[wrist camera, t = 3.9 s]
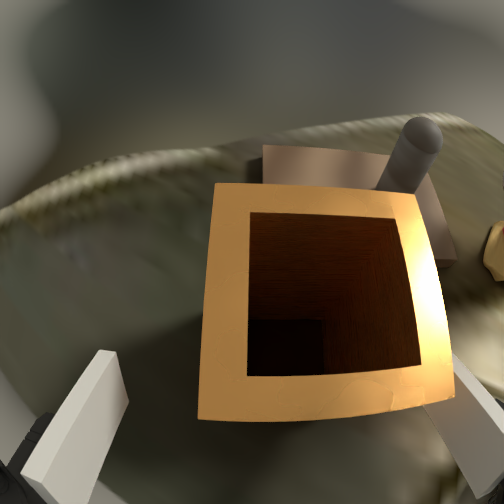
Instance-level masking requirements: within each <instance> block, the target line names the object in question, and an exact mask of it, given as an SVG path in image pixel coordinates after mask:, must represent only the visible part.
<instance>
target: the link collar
mask: <svg viewBox="0 0 504 504" xmlns="http://www.w3.org/2000/svg"><path fill="white" fill-rule="evenodd" d="M248 319H253V320H321V321H322V339H323V361H324V375H313V376H247V335H248ZM454 397H455V386H454V373H453V363H452V354H451V346H450V339H449V332H448V326H447V319H446V314H445V308H444V303H443V298H442V293H441V288H440V283H439V279H438V274H437V270H436V266H435V262H434V258H433V254H432V250H431V246H430V243H429V239H428V236H427V232H426V229H425V225H424V222H423V219H422V216H421V213H420V209H419V206H418V203H417V200H416V197H415V195H414V194H406V193H396V192H386V191H375V190H364V189H351V188H337V187H322V186H304V185H281V184H247V183H215V191H214V200H213V209H212V218H211V228H210V238H209V249H208V260H207V272H206V284H205V296H204V310H203V324H202V340H201V357H200V376H199V399H198V419H202V420H217V421H242V422H282V421H307V420H322V419H334V418H344V417H353V416H361V415H369V414H376V413H383V412H389V411H395V410H400V409H406V408H411V407H416V406H421V405H425V404H430V403H434V402H438V401H443V400H447V399H451V398H454Z"/></svg>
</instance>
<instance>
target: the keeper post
mask: <svg viewBox="0 0 504 504" xmlns="http://www.w3.org/2000/svg"><path fill="white" fill-rule="evenodd" d="M442 144H443V137H442V133H441V130H440V129H439V127H438V126H437V124H436V123H435V122H433V121H432V120H430V119H428V118H425V117H415V118H412V119H410V120H409V121H408V122H407V123H406V124H405V125H404V127H403V130H402V132H401V134H400V136H399V139H398V141H397V143H396V145H395V147H394V150H393V152H392V154H391V156H388V155H381V154H373V153H365V152H356V151H347V150H337V149H325V148H312V147H297V146H278V145H263V150H262V184H281V185H304V186H322V187H337V188H351V189H364V190H375V191H386V192H396V193H406V194H414V195H415V197H416V200H417V203H418V206H419V209H420V213H421V216H422V219H423V222H424V225H425V229H426V232H427V236H428V239H429V243H430V246H431V250H432V254H433V258H434V262H435V266H436V268H449V267H450V266H451V265H452V264H453V263H454V262H456V261H457V260H458V258H457V255H456V251H455V248H454V244H453V241H452V238H451V235H450V231H449V228H448V225H447V222H446V219H445V216H444V214H443V211H442V208H441V205H440V202H439V200H438V197H437V194H436V192H435V189H434V187H433V184H432V182H431V179H430V177H429V175H428V170H429V169H430V167H431V165H432V164H433V162H434V160H435V159H436V157H437V155H438V153H439V152H440V150H441V148H442Z"/></svg>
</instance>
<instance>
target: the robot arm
mask: <svg viewBox="0 0 504 504" xmlns="http://www.w3.org/2000/svg"><path fill="white" fill-rule="evenodd" d="M451 354H452V363H453V373H454V386H455V397H454V398H451V399H447V400H443V401H438V402H434V403H430V404H425V405H422V406H423V407H424V409H425V411H426V412H427V414H428V416H429V417H430V419H431V420H432V422H433V424H434V425H435V427H436V429H437V430H438V432H439V434H440V435H441V437H442V439H443V440H444V442H445V444H446V445H447V447H448V449H449V451H450V452H451V454H452V456H453V457H454V459H455V461H456V463H457V464H458V466H459V468H460V470H461V472H462V473H463V475H464V477H465V479H466V481H467V482H468V484H469V486H470V488H471V490H472V492H473V493H474V495H475V497H476V499H479V498H481V497H483V496H485V495H487V494H488V493H490V492H492V490H493V489H494V488H495V487H496V486H497V485H498V484H499V483H500V484H501V486H502V487H501V488H500V489H499V490H498V491H497V493H496V494H495V495H494V496H493V497H492V498H491V499H490V500H489V502H488V504H491V503H492V502H493V501H494V500H495V499H496V498H497V500H496V501H495V502H494V503H493V504H504V403H503V402H501V401H500V400H498V399H494V398H493V397H492V396H491V395H490V394H489V393H488V391H487V390H486V389H485V388H484V387H483V386H482V384H481V383H480V382H479V381H478V380H477V379H476V378H475V377H474V375H473V374H472V373H471V372H470V371H469V370H468V369H467V368H466V367H465V365H464V364H463V363H462V362H461V361H460V360H459V359H458V358H457V357H456V356H455V355H454V353H453V352H452V351H451ZM128 403H129V400H128V397H127V393H126V390H125V386H124V382H123V379H122V375H121V371H120V367H119V363H118V359H117V354H116V352H113V351H105V350H99V351H98V352H97V354H96V355H95V357H94V358H93V359H92V361H91V362H90V364H89V365H88V367H87V368H86V370H85V371H84V372H83V374H82V375H81V377H80V378H79V380H78V381H77V383H76V384H75V386H74V387H73V389H72V390H71V392H70V393H69V395H68V396H67V398H66V399H65V401H64V402H63V404H62V405H61V407H60V408H59V410H58V412H57V413H56V415H55V414H51V413H48V412H46V413H45V414H44V415H42V416H41V417H40V418H38V419H37V420H36V421H35V423H34V425H33V426H32V427H31V429H30V432H28V433H27V435H26V436H25V440H23V441H22V443H21V444H20V446H19V448H18V449H17V451H16V452H15V454H14V455H13V457H12V458H11V460H10V462H9V463H8V465H7V466H5V465H4V464H3V463H2V461H1V460H0V504H88V501H89V498H90V496H91V493H92V490H93V488H94V485H95V483H96V480H97V477H98V475H99V472H100V470H101V467H102V465H103V462H104V460H105V457H106V455H107V452H108V450H109V448H110V445H111V443H112V440H113V438H114V436H115V433H116V431H117V428H118V426H119V424H120V421H121V419H122V417H123V414H124V412H125V410H126V408H127V405H128Z"/></svg>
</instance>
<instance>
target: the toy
mask: <svg viewBox="0 0 504 504" xmlns="http://www.w3.org/2000/svg"><path fill="white" fill-rule="evenodd" d="M503 189H504V173H503ZM483 263H484V266H485V267H486V268H488V269H489V270H490V272H491V274H492V276H493V278H494V279H495V281H504V221H498V222H496V223H494V225H493V227H492V229H491V232H490V235H489V238H488V241H487V244H486V248H485V251H484V258H483Z"/></svg>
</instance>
